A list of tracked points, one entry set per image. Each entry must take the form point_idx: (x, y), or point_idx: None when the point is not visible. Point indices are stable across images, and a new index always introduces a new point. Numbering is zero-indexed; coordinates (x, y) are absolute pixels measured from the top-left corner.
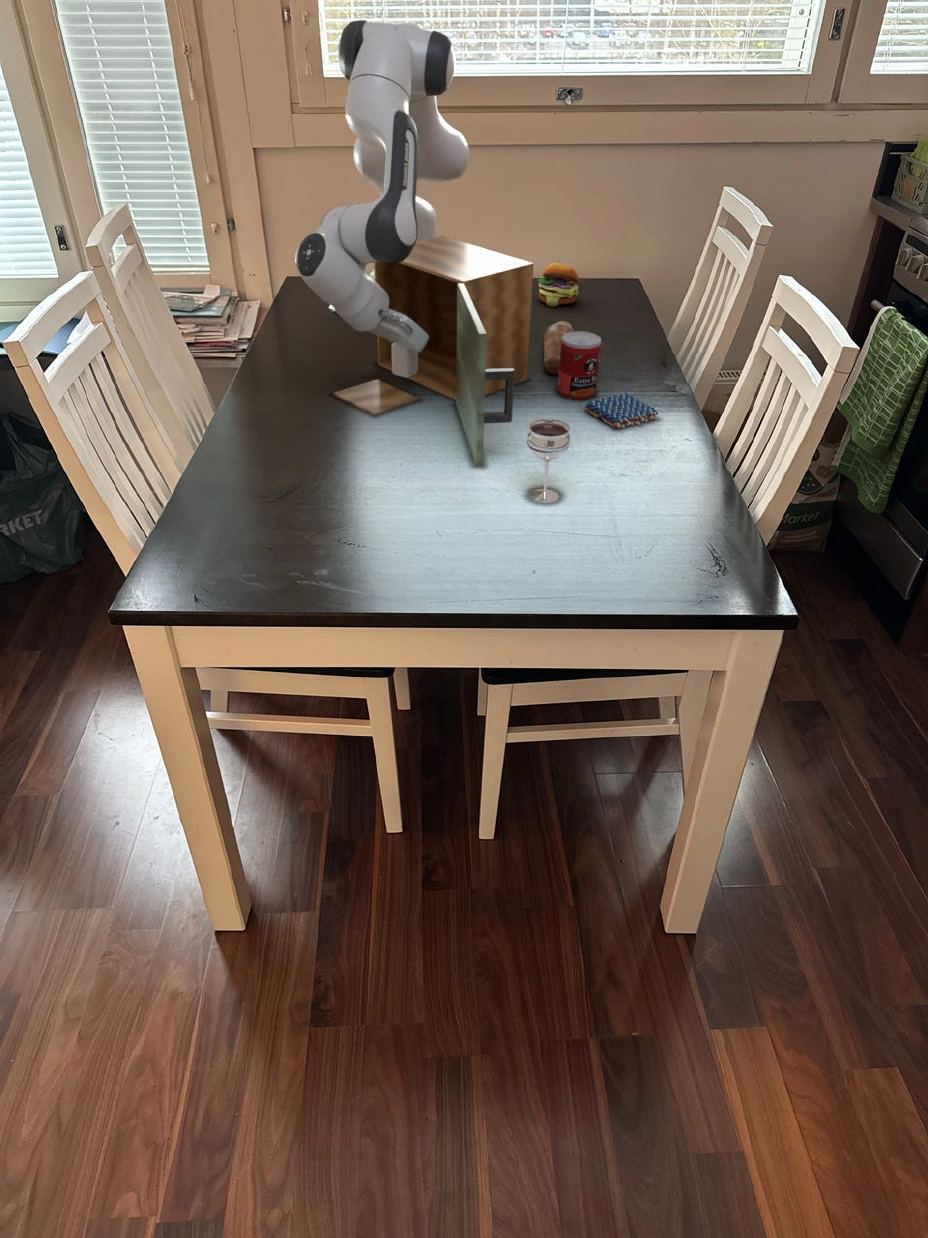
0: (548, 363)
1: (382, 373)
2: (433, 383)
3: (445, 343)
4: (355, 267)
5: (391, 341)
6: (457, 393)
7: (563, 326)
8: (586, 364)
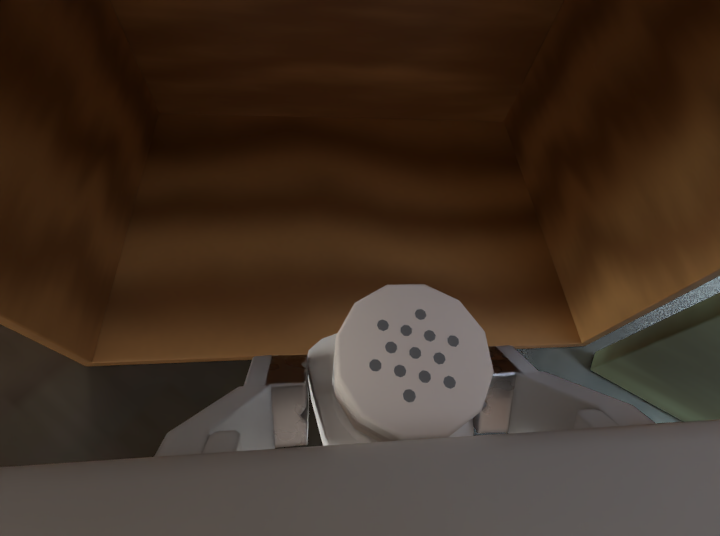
0: None
1: (163, 406)
2: None
3: (175, 108)
4: None
5: (297, 444)
6: (660, 373)
7: None
8: None
